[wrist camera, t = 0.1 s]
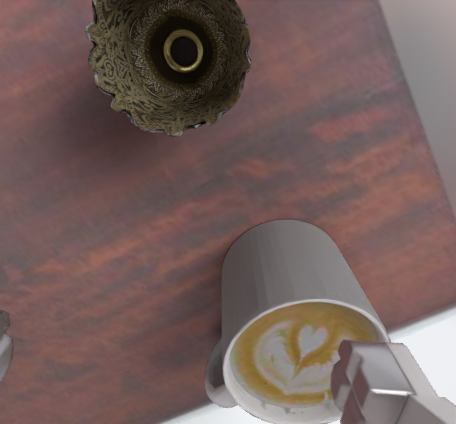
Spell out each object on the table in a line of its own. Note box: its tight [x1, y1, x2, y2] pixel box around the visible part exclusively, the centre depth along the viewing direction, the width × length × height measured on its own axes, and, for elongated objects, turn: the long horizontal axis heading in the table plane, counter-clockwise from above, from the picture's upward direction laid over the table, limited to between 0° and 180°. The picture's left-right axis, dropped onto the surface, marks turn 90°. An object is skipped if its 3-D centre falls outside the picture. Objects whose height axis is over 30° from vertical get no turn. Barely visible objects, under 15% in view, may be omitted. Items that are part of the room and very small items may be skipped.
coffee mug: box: [205, 219, 391, 424], centre depth 27 cm, size 13×10×10 cm
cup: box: [85, 0, 251, 137], centre depth 21 cm, size 8×7×8 cm
